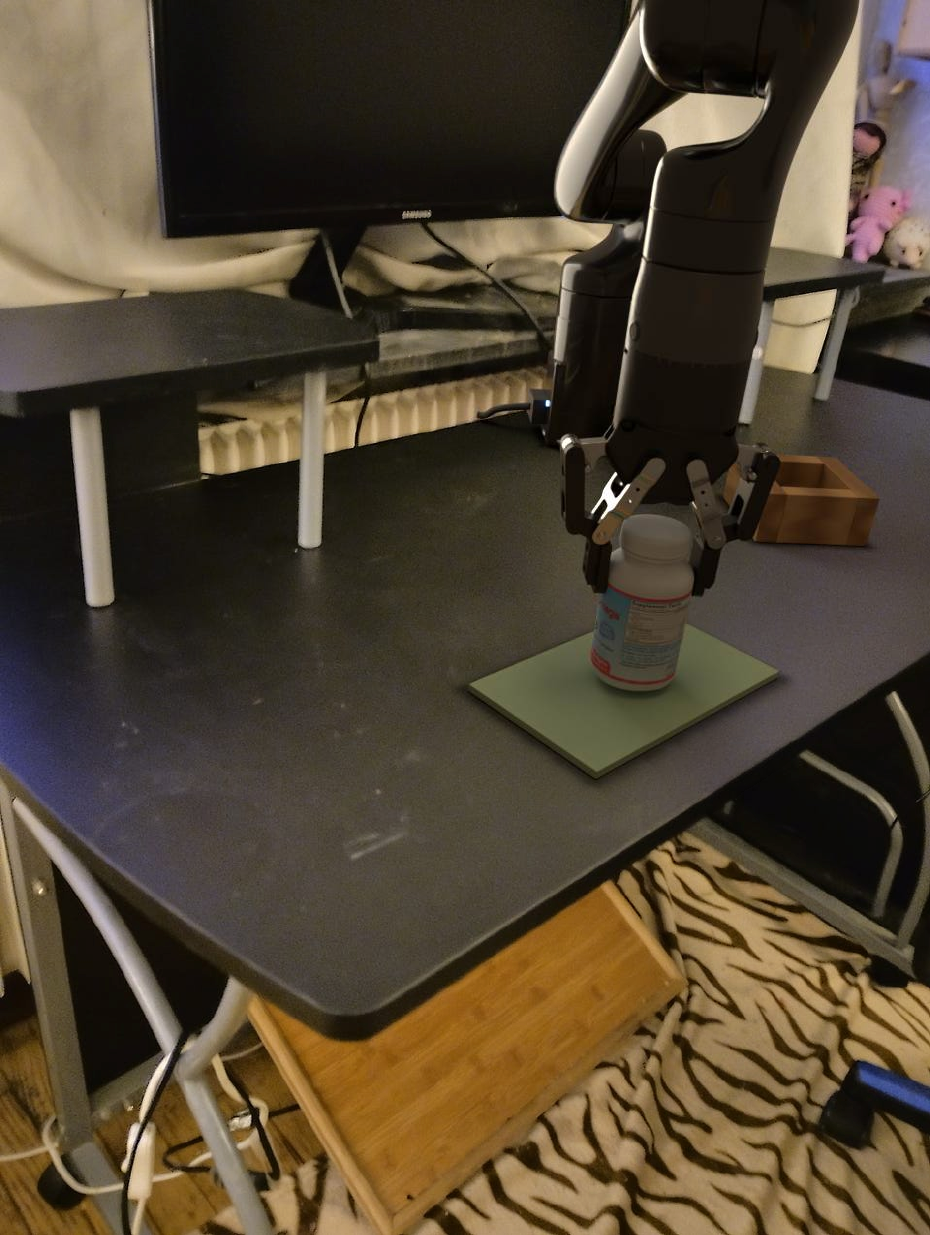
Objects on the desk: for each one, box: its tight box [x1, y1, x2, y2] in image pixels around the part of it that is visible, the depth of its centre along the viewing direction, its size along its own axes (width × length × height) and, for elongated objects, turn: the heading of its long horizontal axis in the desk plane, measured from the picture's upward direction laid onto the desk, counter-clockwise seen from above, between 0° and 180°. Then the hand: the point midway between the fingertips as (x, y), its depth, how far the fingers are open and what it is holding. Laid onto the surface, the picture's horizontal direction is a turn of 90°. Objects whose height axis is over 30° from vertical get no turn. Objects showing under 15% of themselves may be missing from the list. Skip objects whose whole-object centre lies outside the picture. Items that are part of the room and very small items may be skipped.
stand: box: [722, 454, 881, 547], centre depth 98 cm, size 11×11×5 cm
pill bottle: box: [590, 513, 694, 691], centre depth 67 cm, size 6×6×11 cm
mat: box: [467, 622, 780, 780], centre depth 70 cm, size 20×12×1 cm, turn 131°
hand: (645, 589), depth 67 cm, fingers closed on pill bottle, 6 cm apart
